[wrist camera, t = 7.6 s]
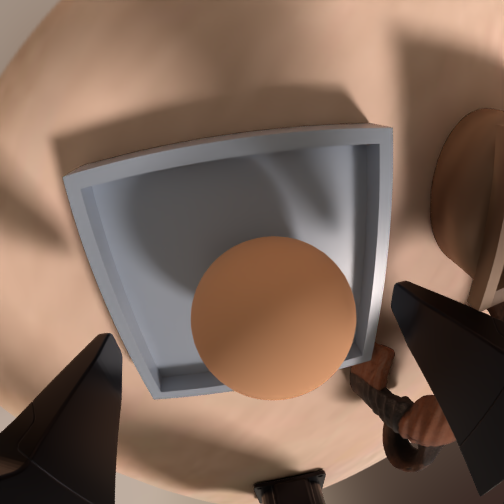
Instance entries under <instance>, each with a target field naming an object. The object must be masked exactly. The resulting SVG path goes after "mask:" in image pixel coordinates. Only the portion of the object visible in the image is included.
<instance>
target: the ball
mask: <svg viewBox="0 0 504 504" xmlns="http://www.w3.org/2000/svg"><path fill="white" fill-rule="evenodd" d="M355 328H356V306H355V301H354V297H353V293H352V290H351V288H350V285H349V283H348V281H347V279H346V277H345V275H344V274H343V273H342V271H341V270H340V268H339V267H338V266H337V265H336V263H335V262H334V261H333V260H332V259H331V258H329V257H328V256H327V255H326V254H325V253H324V252H322V251H320V250H319V249H317V248H316V247H314V246H312V245H311V244H308V243H305V242H303V241H300V240H297V239H293V238H289V237H279V236H267V237H260V238H255V239H251V240H248V241H245V242H242V243H240V244H238V245H236V246H234V247H232V248H230V249H229V250H227V251H226V252H224V253H223V254H222V255H221V256H219V257H218V258H217V259H216V260H215V261H214V262H213V263H212V264H211V266H210V267H209V268H208V269H207V271H206V272H205V273H204V275H203V277H202V278H201V280H200V282H199V284H198V286H197V288H196V291H195V294H194V298H193V302H192V307H191V330H192V335H193V340H194V344H195V346H196V349H197V351H198V353H199V355H200V358H201V359H202V361H203V362H204V364H205V365H206V367H207V368H208V370H209V371H210V372H211V373H212V374H213V375H214V376H215V377H216V378H217V379H218V380H219V381H220V382H222V383H223V384H224V385H226V386H227V387H229V388H230V389H232V390H234V391H236V392H238V393H240V394H243V395H245V396H248V397H252V398H256V399H262V400H284V399H290V398H294V397H297V396H300V395H303V394H306V393H308V392H310V391H312V390H314V389H316V388H317V387H319V386H320V385H322V384H323V383H324V382H326V381H327V380H328V379H329V378H330V377H331V376H332V375H333V374H334V373H335V372H336V371H337V370H338V368H339V367H340V366H341V364H342V363H343V362H344V360H345V358H346V357H347V354H348V352H349V350H350V348H351V345H352V342H353V339H354V334H355Z"/></svg>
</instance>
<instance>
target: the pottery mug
mask: <svg viewBox="0 0 504 504" xmlns="http://www.w3.org/2000/svg"><path fill="white" fill-rule="evenodd" d="M487 310H488V312H489V313H490V315H491V316H492V317H495V318H497V319H499V320H502V321H504V301H503V302H501V303H499V304H497V305H494V306H492V307H490V308H488V309H487ZM394 356H395V352H394V350H393V349H391V348H389V347H386V346H384V345H380V344H377V343H376V342H375V343H374V348H373V353H372V358H371V360H370V361H367V362H363V363H360V364H356V365H353V366H351V373H350V385H351V387H352V389H353V391H354V392H355V393H357V394H358V395H359V396H360V397H361V398H362V399H363V400H364V402H365V403H366V404H367V405H368V406H369V407H370V408H371V409H372V410H373V412H374V413H375V414H377V415H379V417H380V418H381V420H382V421H383V422H384V426H383V446H384V450H385V453H386V456H387V458H388V460H389V461H390V463H391V464H392V465H393V466H394V467H396V468H398V469H400V470H403V471H405V472H417V471H421V470H423V469H425V468H426V467H428V466H429V465H430V464H431V463H432V462H433V461H434V459H435V458H436V456H437V455H438V453H439V452H440V450H441V448H442V447H443V446H444V445H445V444H449V443H451V442H454V441H456V439H455V437H454V434H453V432H452V430H451V428H450V426H449V424H448V422H447V420H446V418H445V416H444V413H443V411H442V409H441V407H440V405H439V403H438V401H437V399H436V398H435V396H434V395H426V396H422V397H421V398H419V399H418V400H417V401H416V402H415V403H413V402H412V401H411V400H410V399H409V398H408V397H407V396H404V397H399V396H397V395H394V394H392V393H391V391H389V390H388V389H387V388H386V385H387V377H388V374H389V370H390V368H391V364H392V361H393V359H394ZM408 439H409V440H410V441H411V442H412V443H414V444H415V443H417V444H418V449H416V448H414V447H413V446H412V445H411V444H410V442H409V440H408Z"/></svg>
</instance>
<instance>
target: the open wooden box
mask: <svg viewBox="0 0 504 504" xmlns="http://www.w3.org/2000/svg"><path fill="white" fill-rule="evenodd" d="M430 212H431V223H432V229H433V233H434V236H435V239H436V241H437V244H438V246H439V247H440V249H441V250H442V252H443V253H444V254H445V255H446V256H447V257H448V258H449V259H451V260H452V261H453V262H454V263H456V264H457V265H458V266H459V267H460V268H461V269H463V270H464V271H465V272H466V273H467V274H469V275H470V276H471V277H472V278H473V283H472V286H471V290H470V293H469V297H468V300H467V302H468V303H469V304H470V305H471V306H472V307H473V308H474V309H476V310H478V311H483V310H485V309H488V308H490V307H492V306H494V305H497V304H499V303H501V302H503V301H504V111H500V110H495V109H488V108H484V109H479V110H476V111H474V112H472V113H470V114H468V115H467V116H465V117H464V118H463V119H462V120H461V121H460V122H459V123H458V124H457V126H456V127H455V128H454V129H453V131H452V132H451V134H450V135H449V137H448V139H447V141H446V143H445V145H444V147H443V149H442V151H441V154H440V156H439V159H438V162H437V166H436V169H435V173H434V178H433V182H432V190H431V202H430Z"/></svg>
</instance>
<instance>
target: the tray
mask: <svg viewBox="0 0 504 504" xmlns="http://www.w3.org/2000/svg"><path fill="white" fill-rule="evenodd" d="M63 181H64V185H65V188H66V192H67V196H68V199H69V203H70V206H71V210H72V213H73V216H74V219H75V223H76V226H77V229H78V232H79V235H80V238H81V241H82V244H83V247H84V250H85V252H86V255H87V258H88V261H89V263H90V266H91V269H92V271H93V274H94V277H95V279H96V282H97V284H98V287H99V289H100V292H101V294H102V296H103V299H104V301H105V303H106V306H107V308H108V310H109V313H110V315H111V317H112V319H113V322H114V324H115V326H116V328H117V330H118V332H119V334H120V337H121V339H122V341H123V343H124V345H125V347H126V349H127V351H128V353H129V355H130V357H131V359H132V361H133V363H134V365H135V366H136V368H137V370H138V372H139V374H140V376H141V378H142V380H143V381H144V383H145V385H146V387H147V389H148V390H149V392H150V394H151V396H152V397H153V399H167V398H179V397H189V396H198V395H207V394H215V393H222V392H229V391H234V390H232V389H230V388H229V387H227V386H226V385H224V384H223V383H222V382H220V381H219V380H218V379H217V378H216V377H215V376H214V375H213V374H212V373H211V372H210V371H209V370H208V368H207V367H206V365H205V364H204V362H203V361H202V359H201V358H200V355H199V353H198V351H197V349H196V346H195V344H194V340H193V335H192V330H191V307H192V302H193V298H194V294H195V291H196V288H197V286H198V284H199V282H200V280H201V278H202V277H203V275H204V273H205V272H206V271H207V269H208V268H209V267H210V266H211V264H212V263H213V262H214V261H215V260H216V259H217V258H218V257H219V256H221V255H222V254H223V253H224V252H226V251H227V250H229V249H230V248H232V247H234V246H236V245H238V244H240V243H242V242H245V241H248V240H251V239H255V238H260V237H267V236H279V237H289V238H293V239H297V240H300V241H303V242H305V243H308V244H311V245H312V246H314V247H316V248H317V249H319V250H320V251H322V252H324V253H325V254H326V255H327V256H328V257H329V258H331V259H332V260H333V261H334V262H335V263H336V265H337V266H338V267H339V268H340V270H341V271H342V273H343V274H344V275H345V277H346V279H347V281H348V283H349V285H350V288H351V290H352V293H353V297H354V301H355V306H356V328H355V334H354V339H353V342H352V345H351V348H350V350H349V352H348V354H347V357H346V358H345V360H344V362H343V363H342V364H341V366H340V367H339V368H338V369H342V368H345V367H349V366H353V365H356V364H360V363H363V362H367V361H370V360H371V358H372V353H373V348H374V343H375V338H376V332H377V327H378V321H379V315H380V309H381V303H382V296H383V289H384V282H385V274H386V266H387V256H388V246H389V235H390V223H391V207H392V184H393V128H391V127H387V126H382V125H377V124H372V123H354V124H329V125H312V126H299V127H287V128H277V129H267V130H258V131H250V132H242V133H235V134H228V135H221V136H215V137H208V138H202V139H196V140H191V141H185V142H180V143H175V144H170V145H165V146H160V147H155V148H151V149H146V150H142V151H137V152H133V153H129V154H125V155H121V156H117V157H113V158H109V159H105V160H101V161H98V162H94V163H90V164H87V165H83V166H80V167H79V168H77V169H75V170H73V171H72V172H70V173H68V174H67V175H65V176H63Z"/></svg>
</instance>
